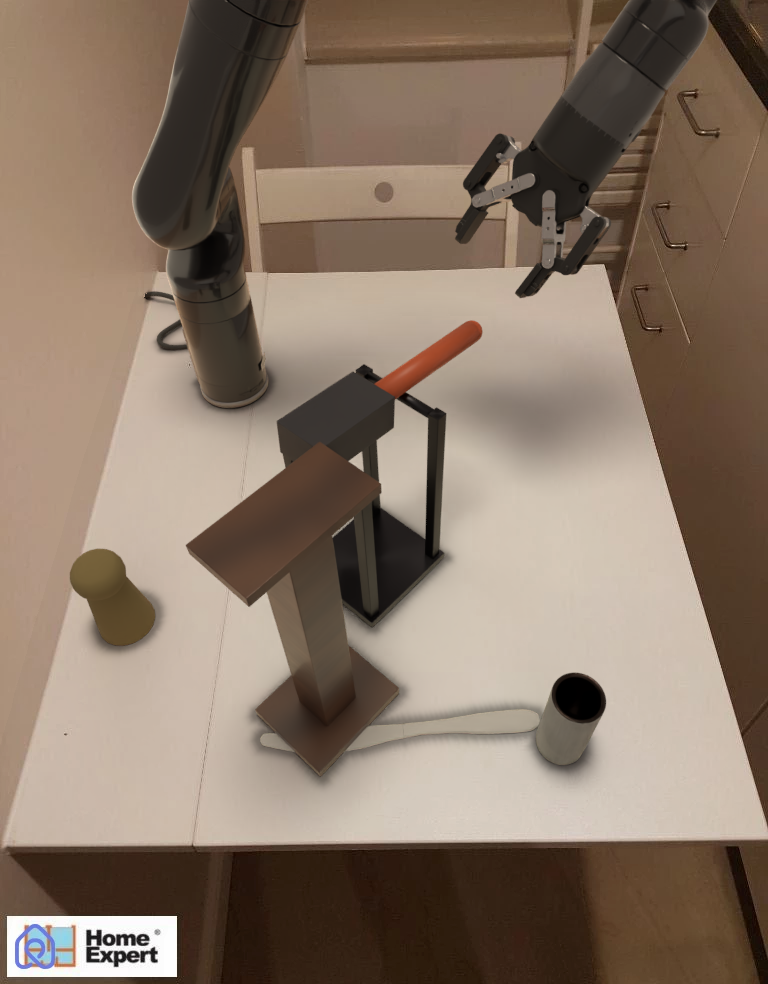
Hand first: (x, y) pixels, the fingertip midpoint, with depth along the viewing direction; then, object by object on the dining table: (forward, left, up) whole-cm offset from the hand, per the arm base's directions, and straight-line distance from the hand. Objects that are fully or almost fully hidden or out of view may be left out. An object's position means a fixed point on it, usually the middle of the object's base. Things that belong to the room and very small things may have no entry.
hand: (490, 268), depth 73 cm
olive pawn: (-12, -45, -26) cm, 54 cm away
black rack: (+3, -22, -26) cm, 34 cm away
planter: (+30, -25, -26) cm, 47 cm away
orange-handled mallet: (+3, -18, -3) cm, 18 cm away
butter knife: (+18, -35, -26) cm, 47 cm away
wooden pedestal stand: (+11, -37, -26) cm, 47 cm away
